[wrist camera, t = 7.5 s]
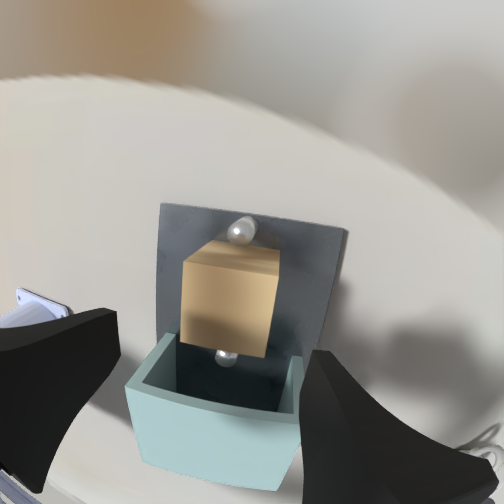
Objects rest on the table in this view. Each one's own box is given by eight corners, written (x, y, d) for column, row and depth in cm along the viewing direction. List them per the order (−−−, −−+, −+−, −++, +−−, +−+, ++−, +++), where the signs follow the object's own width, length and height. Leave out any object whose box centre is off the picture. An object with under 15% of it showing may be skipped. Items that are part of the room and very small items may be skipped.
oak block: (279, 250, 16) (278, 276, 11) (269, 312, 17) (264, 357, 12) (212, 239, 16) (183, 261, 11) (206, 302, 17) (180, 341, 12)
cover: (280, 430, 19) (276, 490, 13) (169, 408, 20) (142, 462, 14) (302, 356, 17) (308, 424, 11) (166, 332, 18) (124, 386, 12)
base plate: (287, 431, 20) (287, 462, 16) (163, 407, 21) (149, 433, 17) (342, 227, 16) (357, 237, 12) (163, 202, 17) (136, 206, 13)
